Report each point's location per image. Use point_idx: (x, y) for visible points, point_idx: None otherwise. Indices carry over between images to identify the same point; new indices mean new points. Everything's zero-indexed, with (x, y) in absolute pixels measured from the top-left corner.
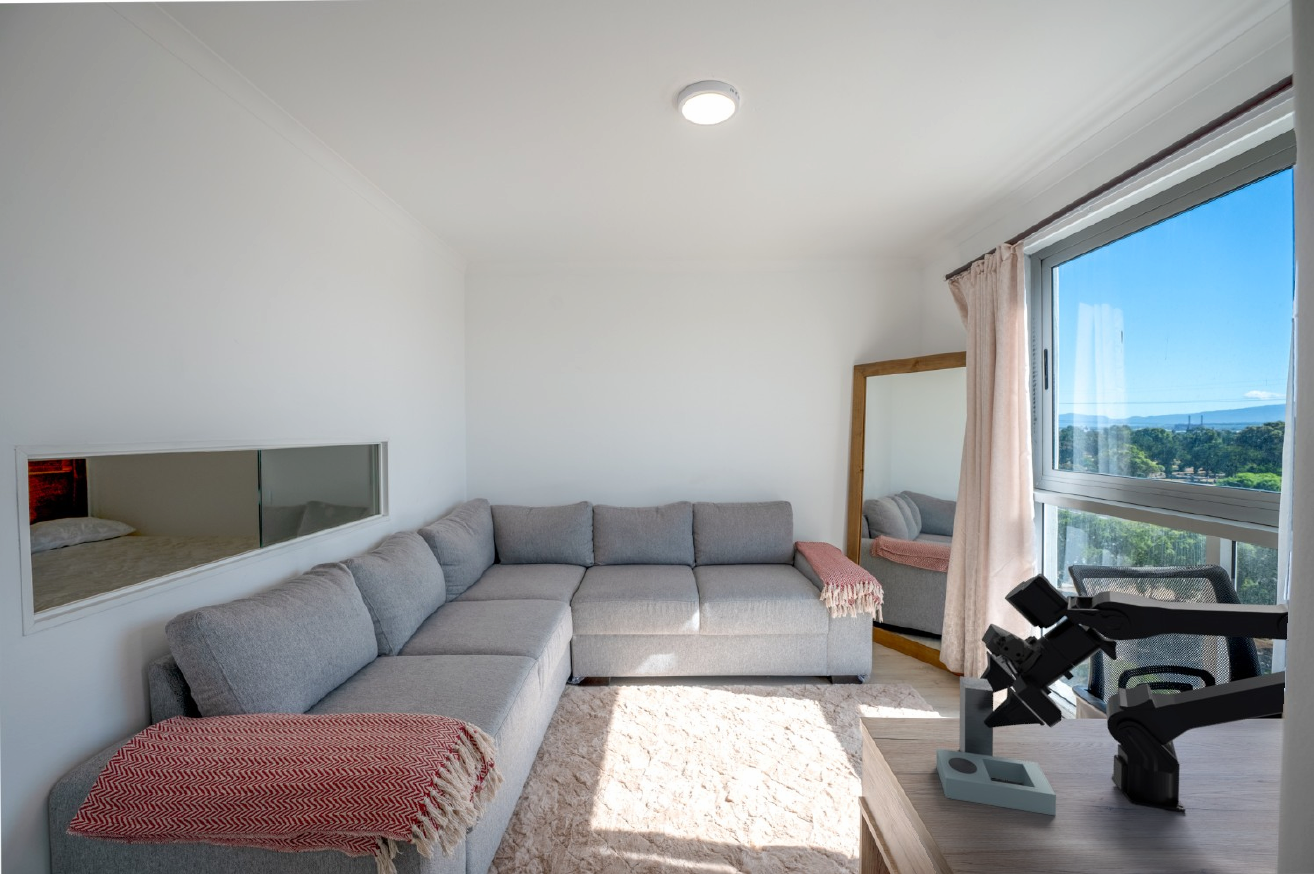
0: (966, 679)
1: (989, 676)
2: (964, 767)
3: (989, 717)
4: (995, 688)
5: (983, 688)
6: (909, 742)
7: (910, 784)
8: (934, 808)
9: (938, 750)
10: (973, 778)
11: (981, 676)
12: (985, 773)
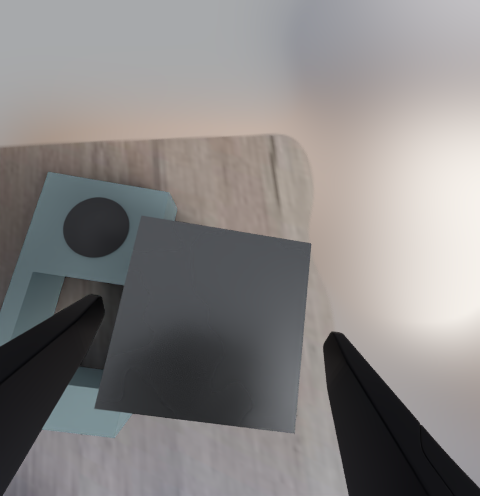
0: (268, 270)
1: (404, 483)
2: (86, 227)
3: (61, 314)
4: (352, 469)
5: (131, 341)
6: (263, 186)
7: (121, 146)
8: (50, 164)
9: (160, 193)
10: (45, 233)
11: (419, 426)
12: (63, 269)
